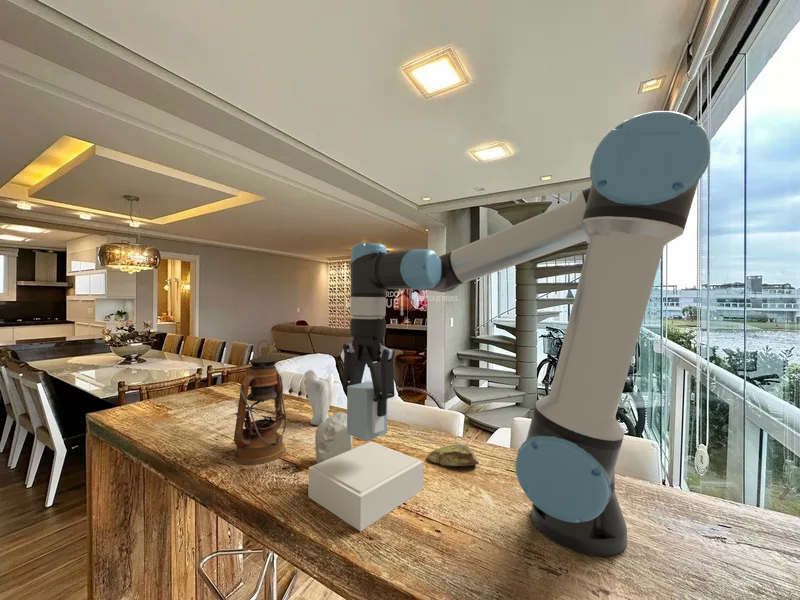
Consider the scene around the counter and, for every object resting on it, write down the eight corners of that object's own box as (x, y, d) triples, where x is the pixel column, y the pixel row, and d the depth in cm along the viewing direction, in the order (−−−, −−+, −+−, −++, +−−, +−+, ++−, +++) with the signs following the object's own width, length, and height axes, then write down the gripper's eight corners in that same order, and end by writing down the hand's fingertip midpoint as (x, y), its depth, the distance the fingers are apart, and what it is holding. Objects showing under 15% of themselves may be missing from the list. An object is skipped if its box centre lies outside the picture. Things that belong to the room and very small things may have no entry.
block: (387, 433, 72) (387, 385, 72) (366, 441, 68) (366, 391, 68) (367, 426, 76) (368, 381, 76) (346, 433, 72) (347, 386, 72)
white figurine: (337, 421, 115) (337, 367, 116) (324, 429, 108) (324, 372, 108) (316, 418, 118) (316, 366, 118) (301, 426, 110) (302, 370, 111)
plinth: (423, 489, 73) (423, 460, 73) (360, 531, 60) (360, 495, 60) (371, 465, 84) (371, 440, 84) (308, 496, 70) (308, 466, 70)
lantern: (264, 438, 101) (265, 336, 101) (300, 445, 96) (301, 338, 96) (214, 462, 85) (215, 342, 85) (253, 472, 80) (255, 345, 80)
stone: (319, 469, 82) (319, 421, 82) (313, 460, 86) (313, 415, 86) (358, 458, 88) (358, 413, 88) (350, 451, 92) (350, 408, 92)
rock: (481, 477, 83) (473, 444, 92) (478, 457, 81) (470, 425, 90) (431, 483, 85) (428, 451, 94) (426, 464, 82) (423, 432, 91)
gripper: (414, 318, 69) (412, 433, 68) (352, 315, 81) (351, 412, 81) (388, 320, 63) (387, 445, 63) (326, 316, 75) (325, 420, 75)
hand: (366, 426), depth 72 cm, fingers closed on block, 6 cm apart
